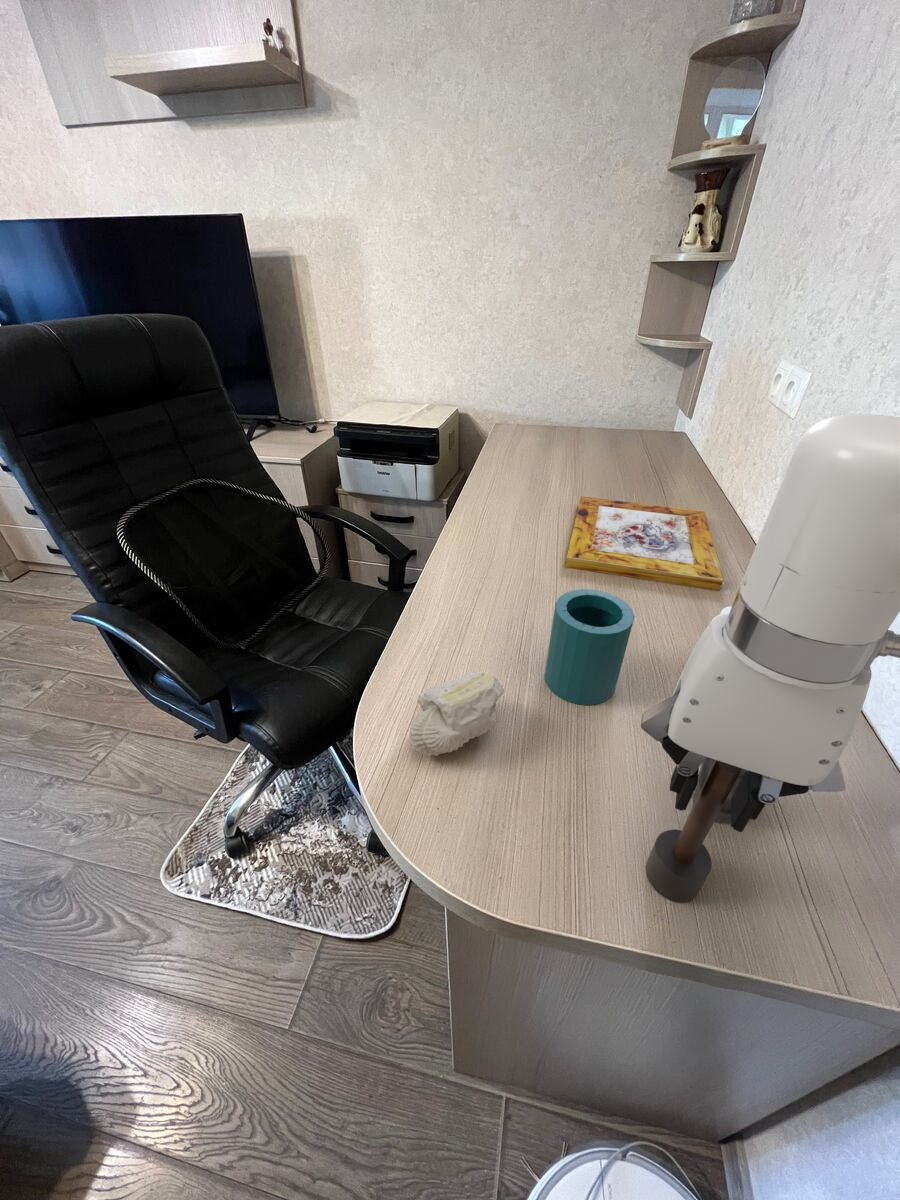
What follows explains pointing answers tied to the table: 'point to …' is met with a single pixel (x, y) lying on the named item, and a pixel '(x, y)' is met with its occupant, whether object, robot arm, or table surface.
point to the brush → (690, 841)
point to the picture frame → (644, 543)
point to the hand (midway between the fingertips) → (708, 804)
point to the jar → (587, 645)
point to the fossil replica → (455, 713)
